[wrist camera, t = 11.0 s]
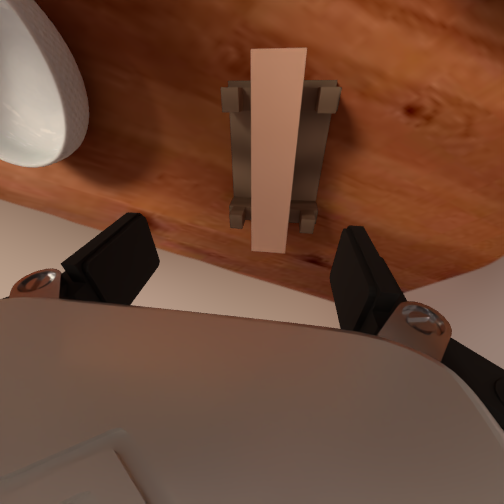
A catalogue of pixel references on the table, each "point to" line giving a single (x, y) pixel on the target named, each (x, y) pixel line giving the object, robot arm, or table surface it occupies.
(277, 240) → the pink rectangular bar
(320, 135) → the plate with corner blocks
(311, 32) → the table surface
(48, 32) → the cereal bowl
